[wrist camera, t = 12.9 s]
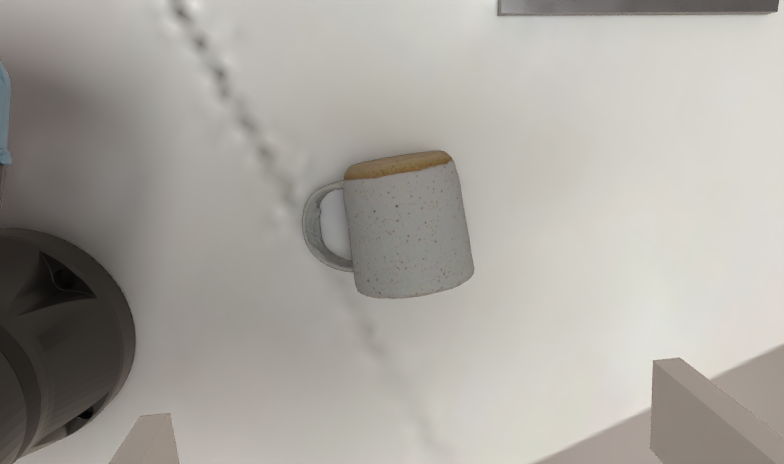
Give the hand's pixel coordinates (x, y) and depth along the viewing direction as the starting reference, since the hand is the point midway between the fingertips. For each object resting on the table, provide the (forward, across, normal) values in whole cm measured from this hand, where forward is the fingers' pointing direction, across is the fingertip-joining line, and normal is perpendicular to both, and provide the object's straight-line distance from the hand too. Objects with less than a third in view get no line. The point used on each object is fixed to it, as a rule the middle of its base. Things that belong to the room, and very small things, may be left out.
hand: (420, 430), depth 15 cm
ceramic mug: (+25, +1, +1) cm, 25 cm away
